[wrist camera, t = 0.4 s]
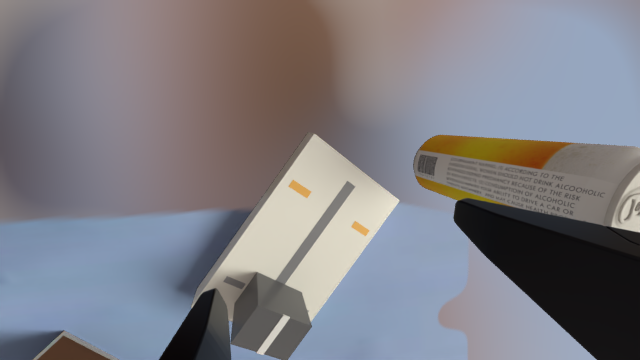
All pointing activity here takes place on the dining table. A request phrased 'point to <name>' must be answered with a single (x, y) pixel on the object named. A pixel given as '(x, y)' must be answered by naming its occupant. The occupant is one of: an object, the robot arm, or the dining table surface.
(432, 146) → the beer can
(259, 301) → the fader cap
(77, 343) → the food container
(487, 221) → the robot arm
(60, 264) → the dining table surface
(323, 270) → the fader console
